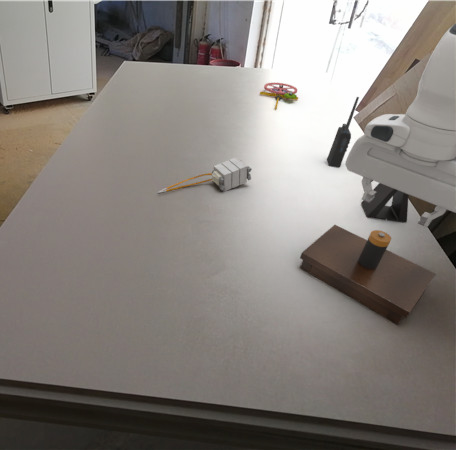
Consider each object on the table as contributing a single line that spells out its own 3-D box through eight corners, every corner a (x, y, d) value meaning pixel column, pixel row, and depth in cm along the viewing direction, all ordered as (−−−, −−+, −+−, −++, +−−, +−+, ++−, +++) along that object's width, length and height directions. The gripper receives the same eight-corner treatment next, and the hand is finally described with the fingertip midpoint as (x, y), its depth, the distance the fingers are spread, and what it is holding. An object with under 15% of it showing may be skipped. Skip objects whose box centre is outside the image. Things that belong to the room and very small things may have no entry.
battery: (380, 263, 76) (395, 234, 72) (372, 272, 74) (388, 242, 70) (362, 254, 78) (376, 225, 74) (354, 262, 76) (368, 233, 72)
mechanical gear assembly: (298, 88, 171) (262, 84, 174) (301, 78, 168) (264, 74, 172) (296, 113, 148) (255, 108, 151) (299, 101, 145) (257, 97, 149)
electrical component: (168, 215, 98) (166, 199, 94) (157, 202, 102) (155, 186, 98) (251, 181, 103) (252, 165, 100) (238, 170, 108) (238, 154, 104)
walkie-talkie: (340, 168, 115) (366, 99, 103) (328, 166, 116) (353, 97, 104) (338, 160, 119) (362, 93, 107) (326, 158, 120) (349, 91, 108)
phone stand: (398, 208, 100) (419, 165, 93) (406, 222, 95) (429, 178, 88) (360, 203, 101) (379, 160, 93) (366, 217, 96) (386, 173, 89)
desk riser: (426, 288, 77) (436, 273, 75) (399, 328, 69) (409, 312, 67) (329, 238, 88) (334, 224, 86) (296, 267, 80) (301, 252, 78)
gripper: (516, 155, 57) (467, 232, 65) (372, 112, 68) (346, 182, 77) (506, 169, 54) (455, 249, 62) (356, 121, 65) (330, 194, 73)
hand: (394, 211), depth 69 cm, fingers open, 8 cm apart
